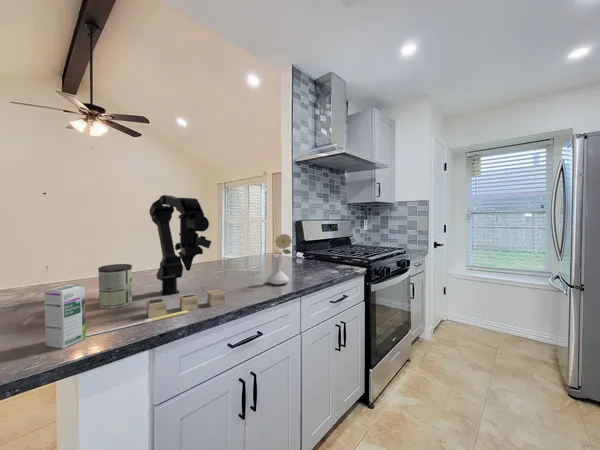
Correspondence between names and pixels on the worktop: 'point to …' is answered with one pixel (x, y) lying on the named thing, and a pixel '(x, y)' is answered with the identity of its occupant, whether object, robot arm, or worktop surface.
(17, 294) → the worktop surface
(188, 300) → the marked block 2
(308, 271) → the worktop surface
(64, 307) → the syrup box
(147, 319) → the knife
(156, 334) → the worktop surface
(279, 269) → the flower in vase
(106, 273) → the coffee can
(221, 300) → the plain block
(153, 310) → the marked block 1
